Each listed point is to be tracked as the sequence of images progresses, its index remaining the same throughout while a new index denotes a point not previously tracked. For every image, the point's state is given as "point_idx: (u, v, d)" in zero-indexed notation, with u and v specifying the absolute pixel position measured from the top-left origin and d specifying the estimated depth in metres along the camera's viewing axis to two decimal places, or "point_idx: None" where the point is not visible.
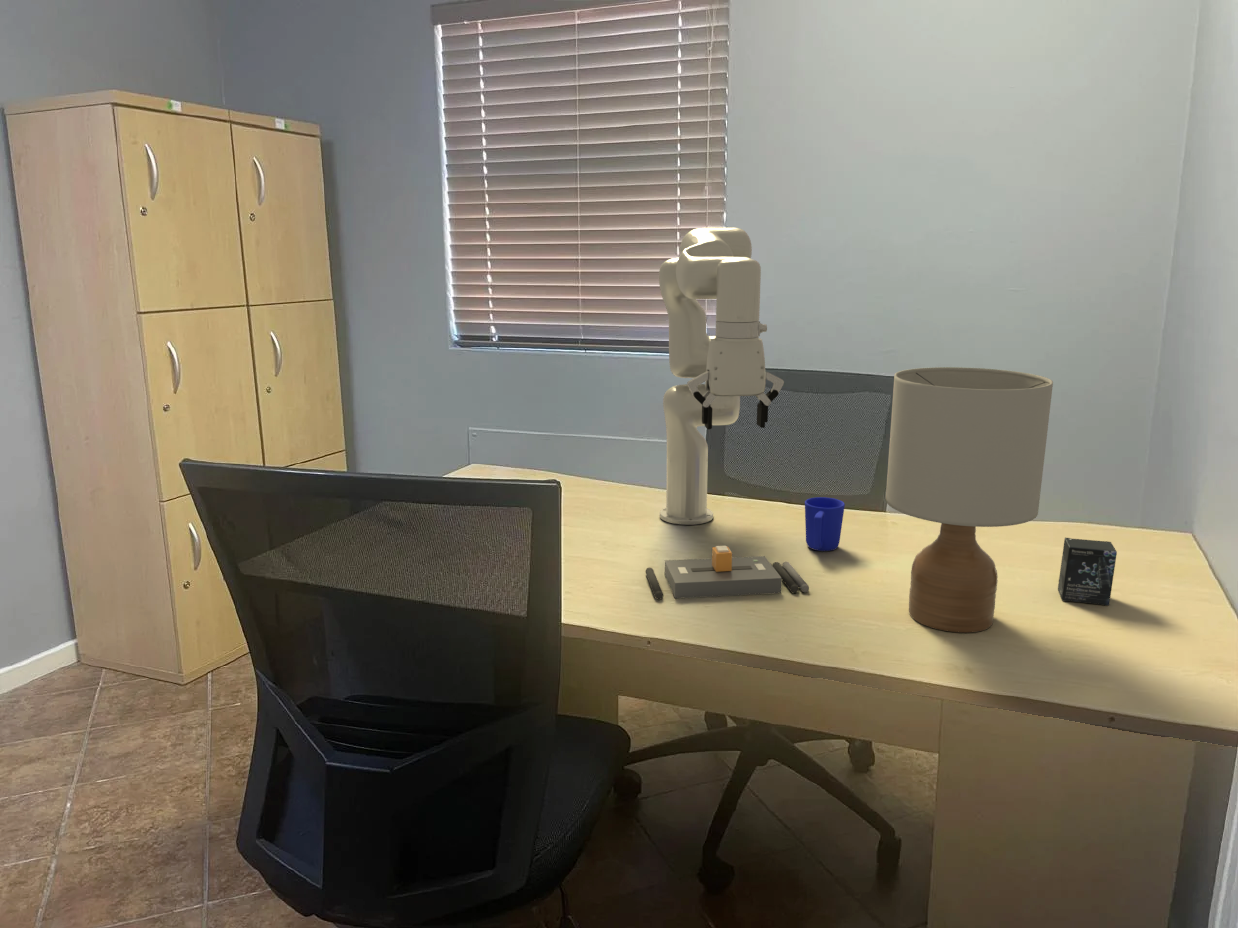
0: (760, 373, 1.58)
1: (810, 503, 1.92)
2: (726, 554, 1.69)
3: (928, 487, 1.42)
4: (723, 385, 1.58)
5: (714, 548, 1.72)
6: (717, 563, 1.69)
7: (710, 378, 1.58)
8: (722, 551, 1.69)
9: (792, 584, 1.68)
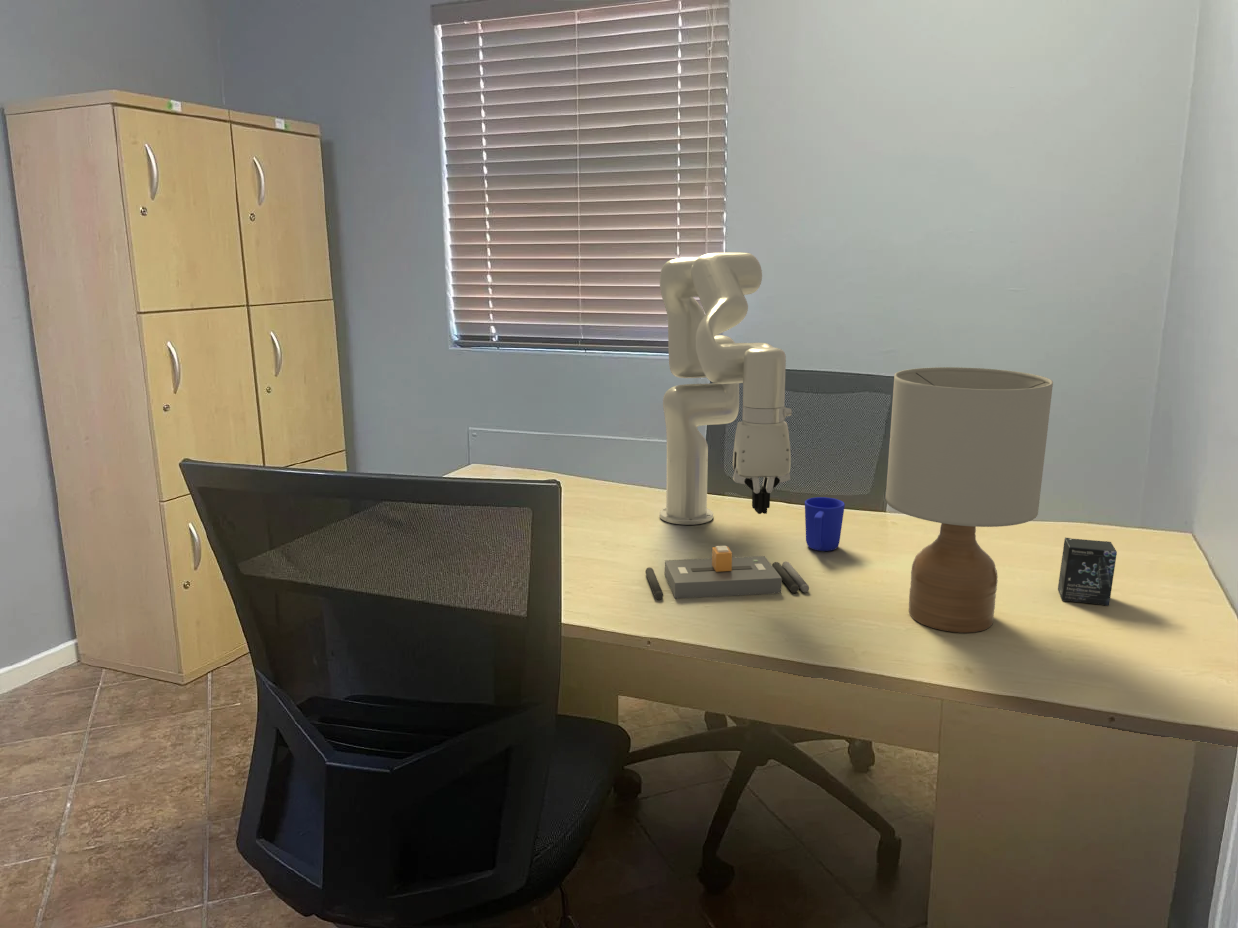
0: (785, 455, 1.65)
1: (810, 503, 1.92)
2: (726, 554, 1.69)
3: (928, 487, 1.42)
4: (750, 467, 1.65)
5: (714, 548, 1.72)
6: (717, 563, 1.69)
7: (738, 460, 1.65)
8: (722, 551, 1.69)
9: (792, 584, 1.68)
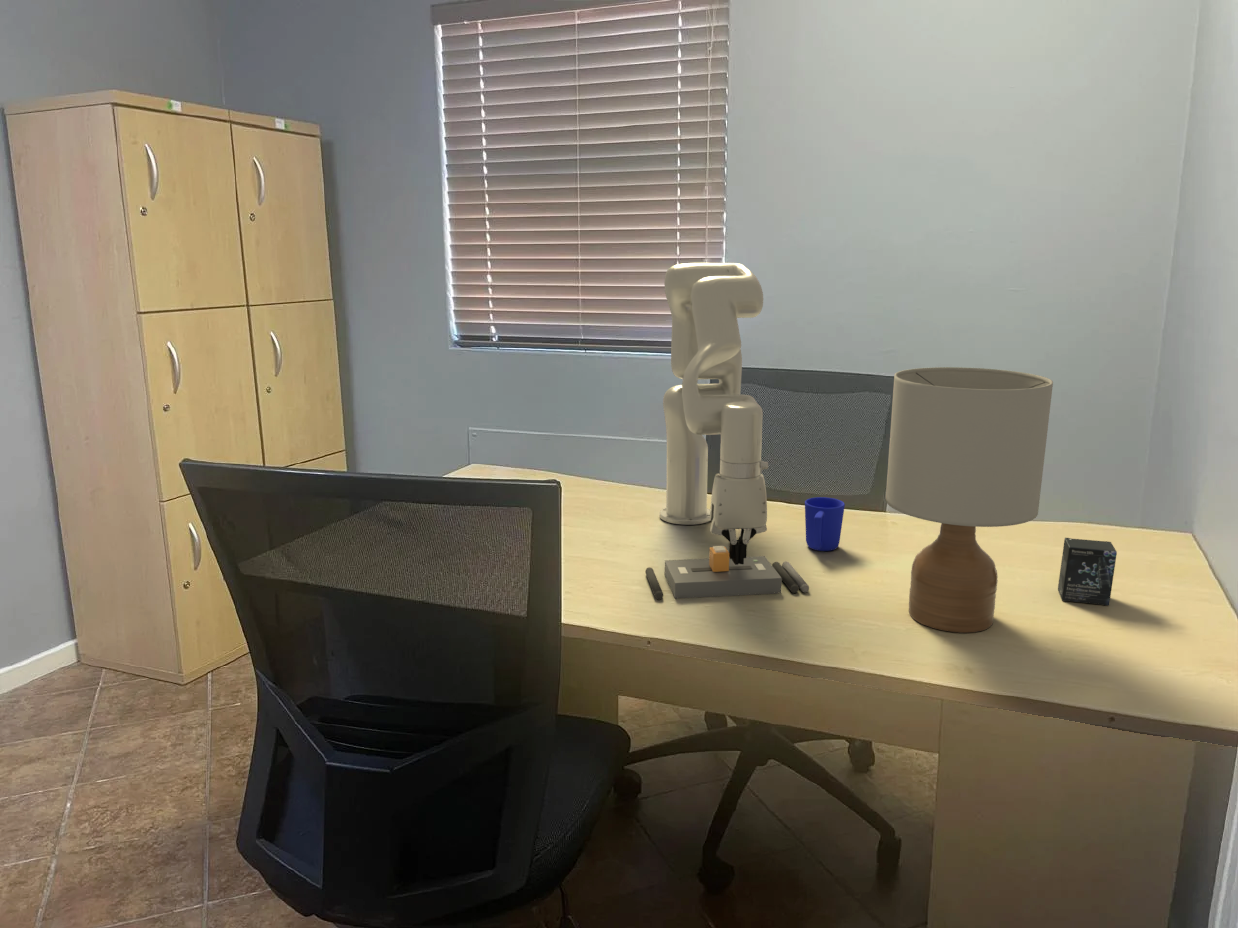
0: (762, 508, 1.67)
1: (810, 503, 1.92)
2: (723, 554, 1.69)
3: (928, 487, 1.42)
4: (727, 519, 1.67)
5: (711, 548, 1.72)
6: (714, 563, 1.69)
7: (715, 513, 1.67)
8: (719, 551, 1.69)
9: (792, 584, 1.68)
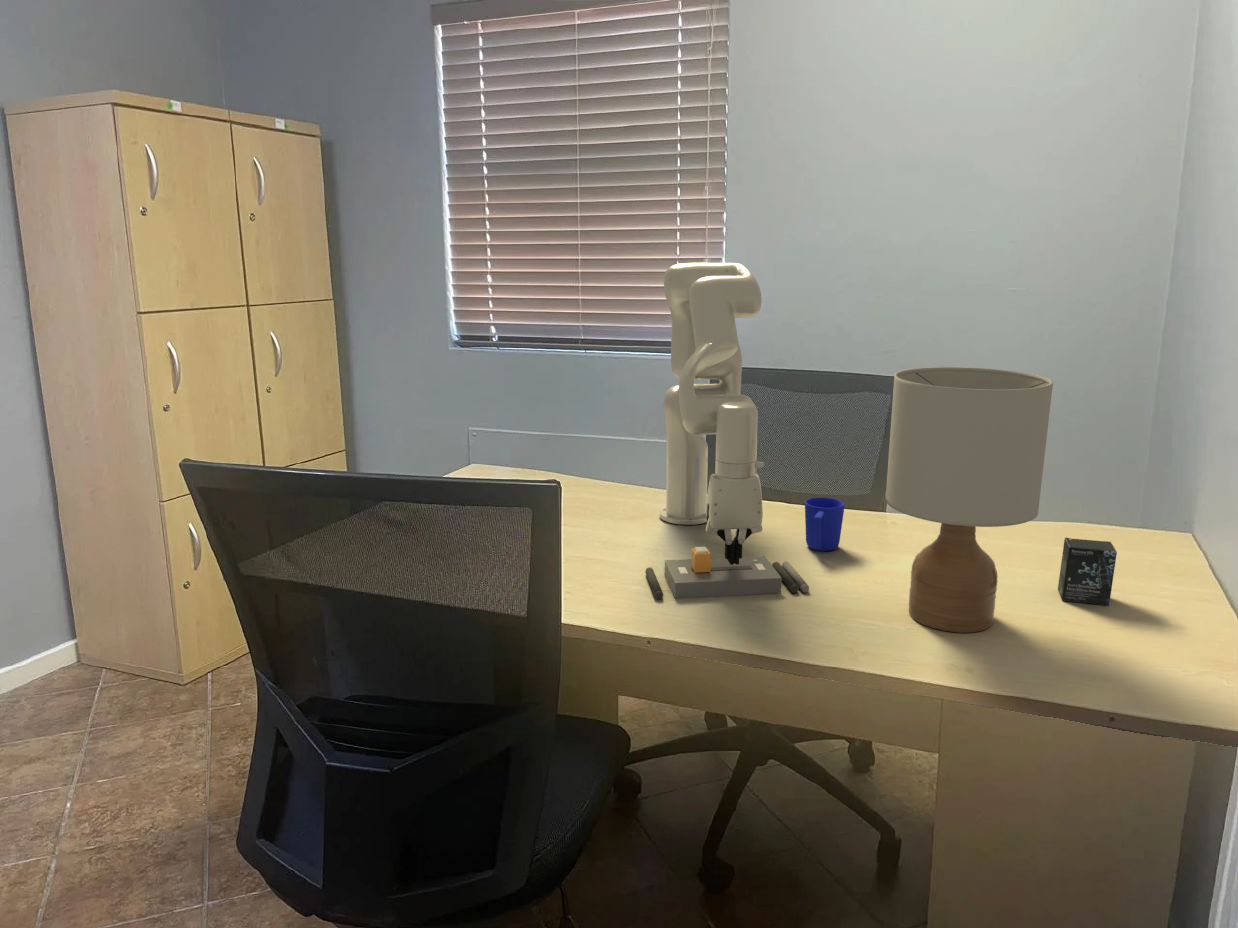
0: (757, 508, 1.67)
1: (810, 503, 1.92)
2: (705, 555, 1.69)
3: (928, 487, 1.42)
4: (722, 519, 1.67)
5: (693, 549, 1.71)
6: (696, 564, 1.69)
7: (710, 513, 1.67)
8: (701, 552, 1.69)
9: (792, 584, 1.68)
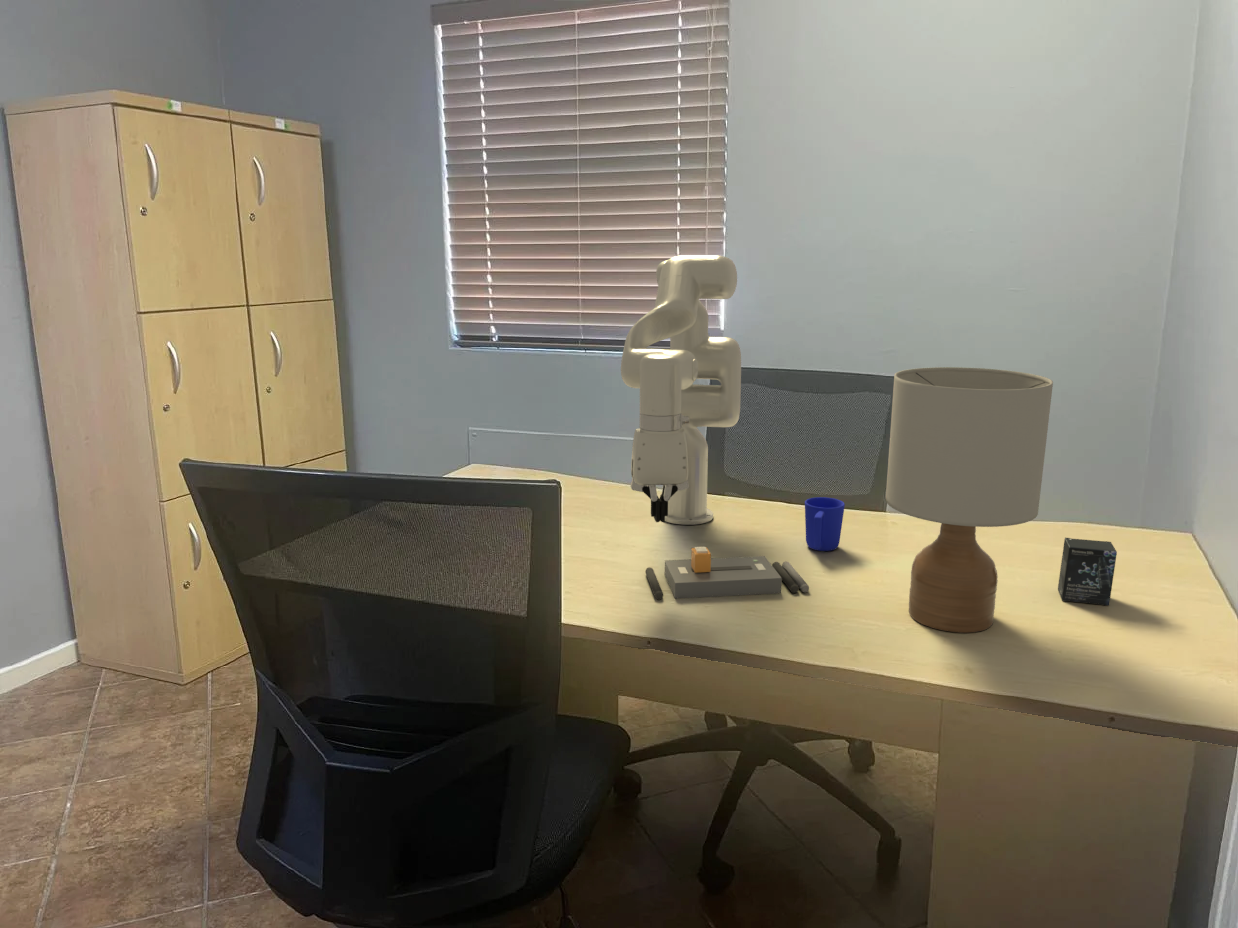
0: (682, 463, 1.63)
1: (810, 503, 1.92)
2: (705, 555, 1.69)
3: (928, 487, 1.42)
4: (646, 475, 1.63)
5: (693, 549, 1.71)
6: (696, 564, 1.69)
7: (634, 468, 1.63)
8: (701, 552, 1.69)
9: (792, 584, 1.68)
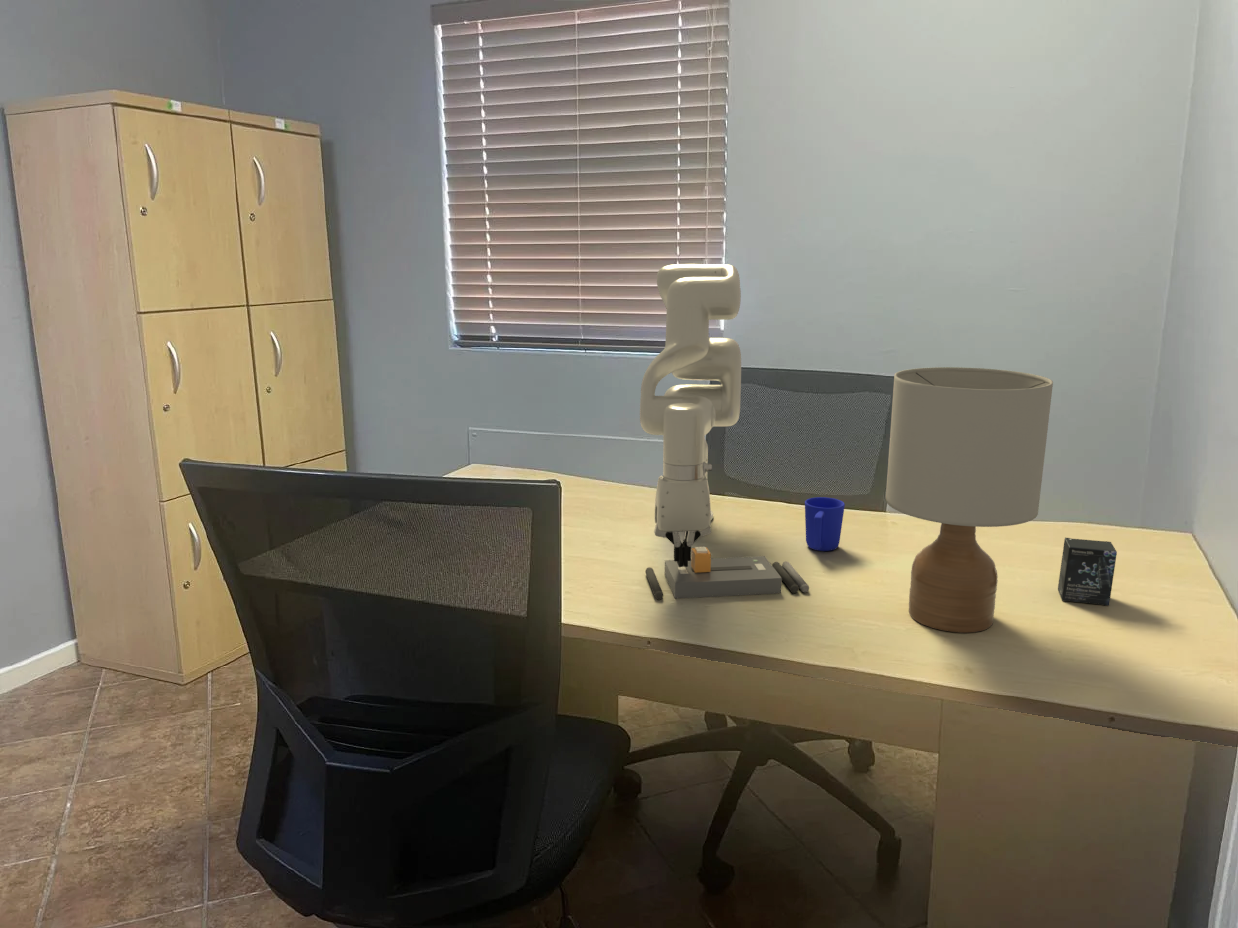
0: (705, 510, 1.66)
1: (810, 503, 1.92)
2: (705, 555, 1.69)
3: (928, 487, 1.42)
4: (670, 522, 1.66)
5: (693, 549, 1.71)
6: (696, 564, 1.69)
7: (658, 515, 1.66)
8: (701, 552, 1.69)
9: (792, 584, 1.68)
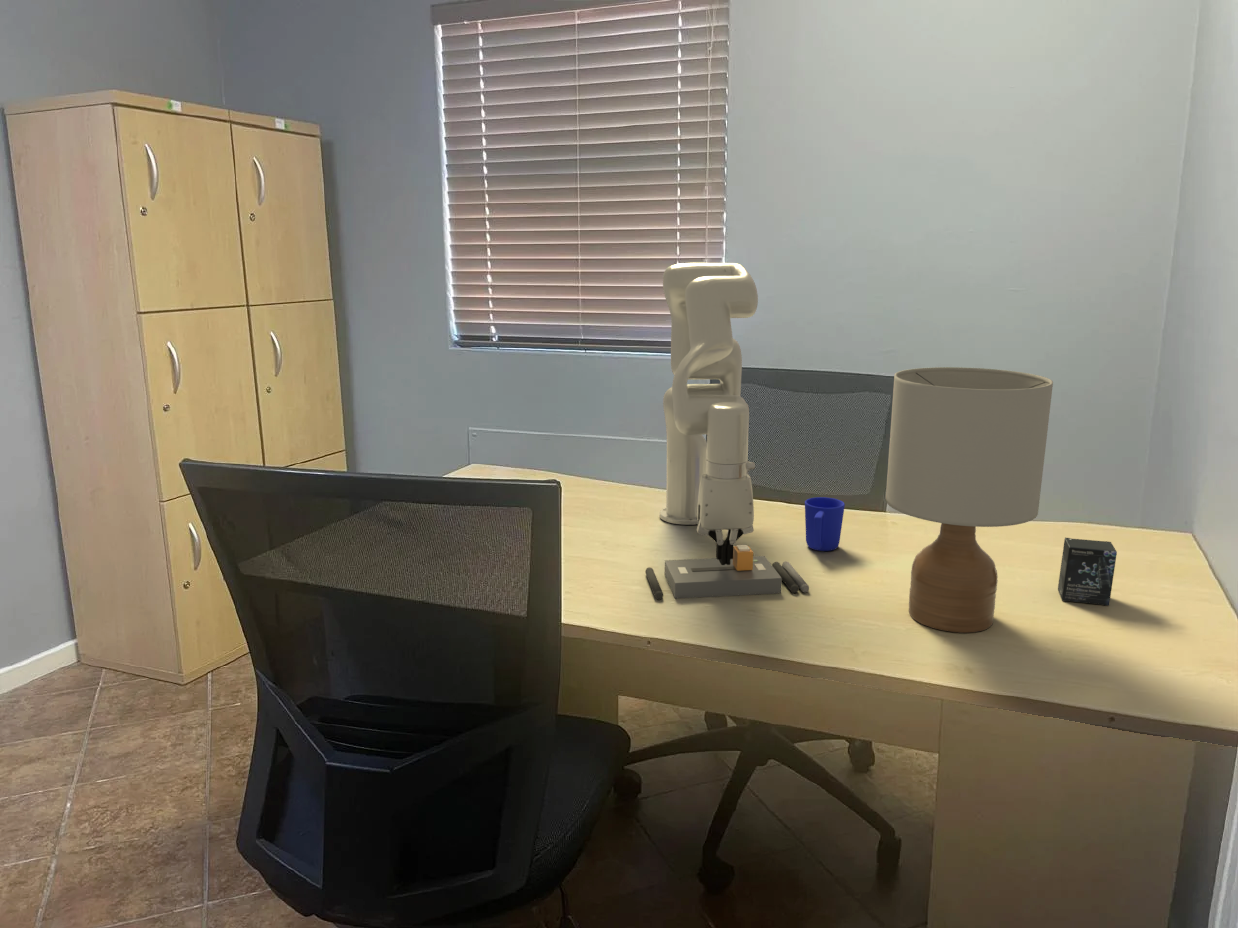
0: (748, 509, 1.67)
1: (810, 503, 1.92)
2: (747, 553, 1.70)
3: (928, 487, 1.42)
4: (713, 520, 1.67)
5: (735, 547, 1.72)
6: (738, 562, 1.70)
7: (701, 513, 1.67)
8: (743, 550, 1.70)
9: (792, 584, 1.68)
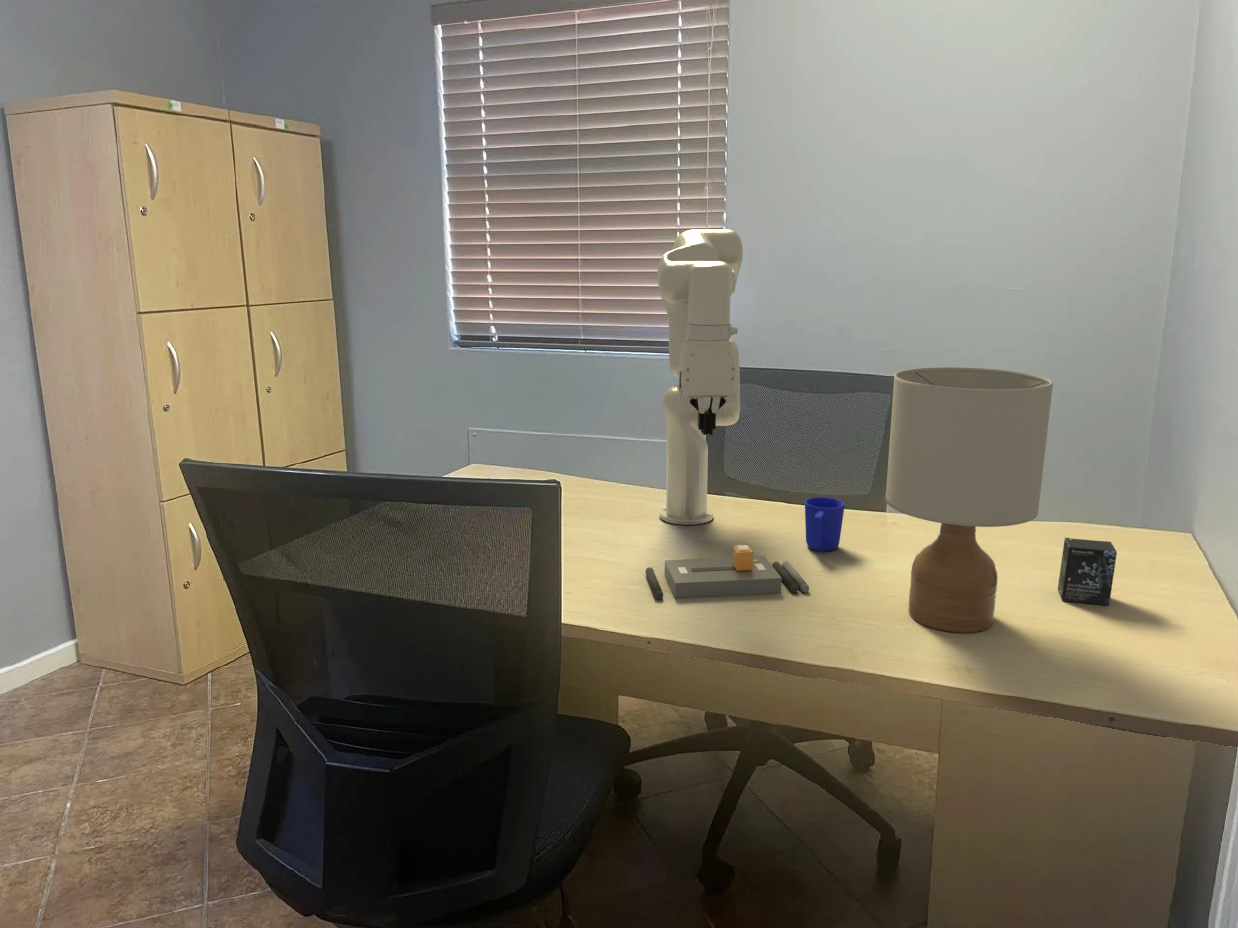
0: (731, 374, 1.62)
1: (810, 503, 1.92)
2: (747, 553, 1.70)
3: (928, 487, 1.42)
4: (695, 386, 1.62)
5: (735, 547, 1.72)
6: (738, 562, 1.70)
7: (682, 379, 1.62)
8: (743, 550, 1.70)
9: (792, 584, 1.68)
